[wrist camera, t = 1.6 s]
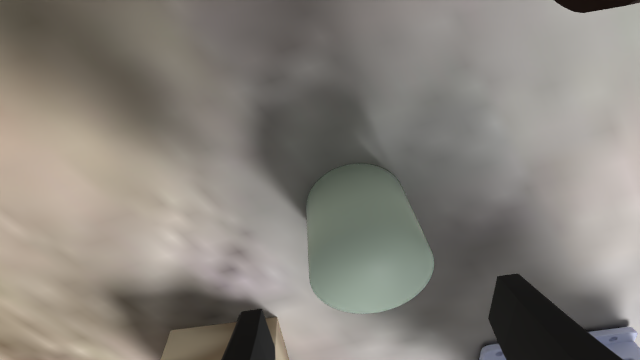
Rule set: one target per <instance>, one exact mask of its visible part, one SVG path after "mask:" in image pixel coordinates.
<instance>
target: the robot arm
mask: <svg viewBox="0 0 640 360" xmlns="http://www.w3.org/2000/svg"><path fill="white" fill-rule="evenodd" d="M488 319H489V321H490V324H491V326H492V328H493V331H494V333H495V336H496V338H497V341H498V343H499V344H492V345H487V346H485V347H483V348H482V350H481V354H480V358H479V360H640V348H639V347H638V346H637V344H636V343H635V342H634V340H635V338H636V337H637V334H638V333H637V332H636V331H635V330H634V329H633V328H632V327H621V328H614V329H606V330H599V331H591V332H587V331H586V330H585V329H583V328H582V327H581V326H580V325H578V324H577V323H576V322H575V321H574V320H572V319H571V318H570V317H569V316H567V315H566V314H565V313H564V312H563V311H561V310H560V309H559V308H558V307H557V306H556V305H554V304H553V303H552V302H551V301H550V300H548V299H547V298H546V297H545V296H544V295H543V294H541V293H540V292H539V291H538V290H537V289H536V288H534V287H533V286H532V285H531V284H530V283H529V282H527V281H526V280H525V279H524V278H523V277H521V276H520V275H519V274H511V275H504V276H497V281H496V286H495V290H494V295H493V299H492V304H491V309H490V313H489V318H488ZM221 360H275V345H274V342H273V340H272V337H271V334H270V331H269V328H268V325H267V322H266V319H265V317H264V314H263V311H262V309H257V310H250V311H243V312H241V313H240V315H239V317H238V320H237V323H236V325H235V328H234V330H233V333H232V335H231V338H230V340H229V343H228V345H227V347H226V350H225V352H224V354H223V357H222V359H221Z"/></svg>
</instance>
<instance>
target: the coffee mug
mask: <svg viewBox="0 0 640 360" xmlns="http://www.w3.org/2000/svg"><path fill="white" fill-rule="evenodd" d="M554 1H556V2H557V3H558V4H560V5H561V6H563V7H565V8H567V9H569V10H571V11H574V12H580V13H586V12H592V11H598V10H603V9H609V8H615V7H621V6H626V5H631V4H635V3H640V0H554Z"/></svg>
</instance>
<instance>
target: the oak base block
mask: <svg viewBox="0 0 640 360" xmlns="http://www.w3.org/2000/svg"><path fill="white" fill-rule="evenodd" d="M265 319H266V322H267V325H268V328H269V331H270V334H271V337H272V340H273V342H274V345H275V360H289V357H288V354H287V350H286V347H285V343H284V340H283V336H282V333H281V329H280V326H279V322H278V319H277V317H273V318H265ZM236 323H237V322H233V323H225V324H217V325H209V326H201V327H193V328H185V329H177V330H171V331H170V334H169V337H168V340H167V343H166V346H165V349H164V352H163V355H162V358H161V360H221V359H222V357H223V354H224V352H225V350H226V347H227V345H228V343H229V340H230V338H231V335H232V333H233V330H234V328H235V325H236Z"/></svg>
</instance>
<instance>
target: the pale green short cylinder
mask: <svg viewBox="0 0 640 360" xmlns="http://www.w3.org/2000/svg"><path fill="white" fill-rule="evenodd" d="M306 214H307V237H308V259H309V279H310V284H311V287H312V289H313V291H314V293H315V294H316V295H317V297H318V298H319V299H320V300H321V301H323V302H324V303H325V304H327V305H329V306H330V307H332V308H335V309H337V310H340V311H344V312H349V313H357V314H369V313H377V312H383V311H386V310H390V309H393V308H396V307H398V306H400V305H402V304H404V303H406V302H408V301H410V300H411V299H412V298H414V297H415V296H416V295H418V294H419V293H420V292H421V291H422V290H423V289H424V288H425V286H426V285H427V283H428V282H429V280H430V278H431V276H432V273H433V269H434V258H433V254H432V251H431V249H430V247H429V245H428V242H427V240H426V238H425V236H424V234H423V232H422V230H421V227H420V225H419V223H418V221H417V219H416V217H415V214H414V212H413V210H412V208H411V206H410V204H409V201H408V199H407V197H406V195H405V193H404V191H403V189H402V186H401V184H400V183H399V181H398V180H397V179H396V177H395V176H394V175H392V174H391V173H390V172H389V171H387V170H385V169H383V168H381V167H378V166H375V165H371V164H360V163H358V164H349V165H344V166H341V167H338V168H336V169H334V170H332V171H330V172H328V173H327V174H325V175H324V176H323V177H321V178H320V179H319V180H318V181H317V182H316V183H315V185H314V186H313V187H312V189H311V191H310V193H309V195H308V198H307V204H306Z"/></svg>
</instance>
